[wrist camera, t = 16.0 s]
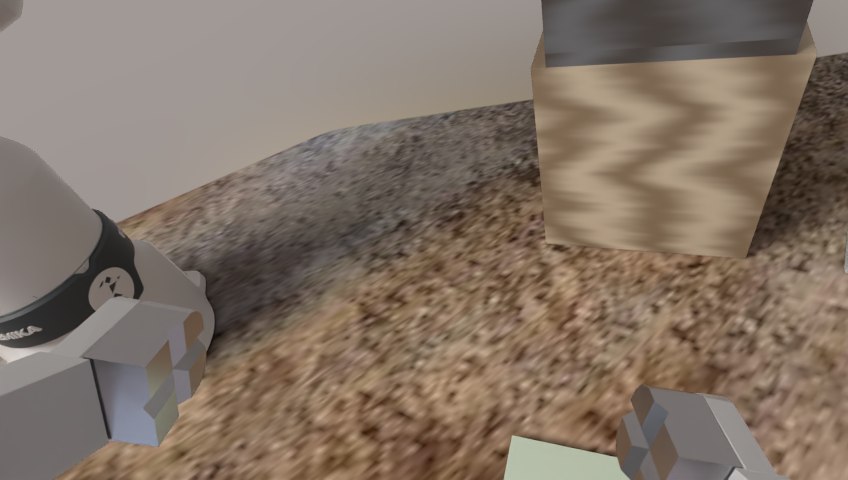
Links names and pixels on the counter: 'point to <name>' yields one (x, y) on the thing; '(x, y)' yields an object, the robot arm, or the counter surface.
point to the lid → (558, 463)
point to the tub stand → (665, 119)
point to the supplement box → (846, 257)
